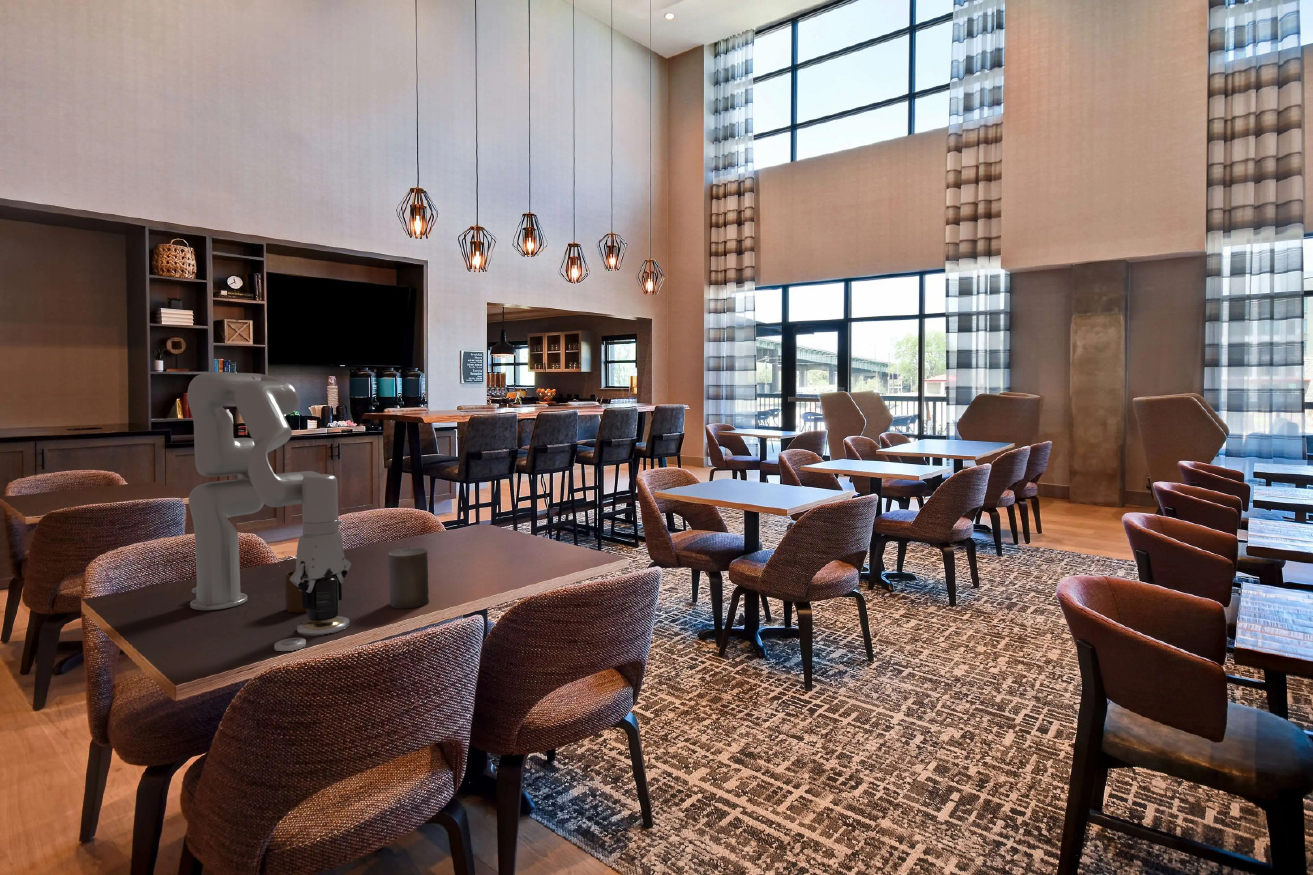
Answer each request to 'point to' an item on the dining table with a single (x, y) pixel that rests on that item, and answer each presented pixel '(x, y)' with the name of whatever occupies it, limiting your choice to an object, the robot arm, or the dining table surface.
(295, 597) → the mug
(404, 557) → the pillar candle
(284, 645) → the plastic flange
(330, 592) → the supplement bottle
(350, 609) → the dining table surface
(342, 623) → the silver and gold coaster
